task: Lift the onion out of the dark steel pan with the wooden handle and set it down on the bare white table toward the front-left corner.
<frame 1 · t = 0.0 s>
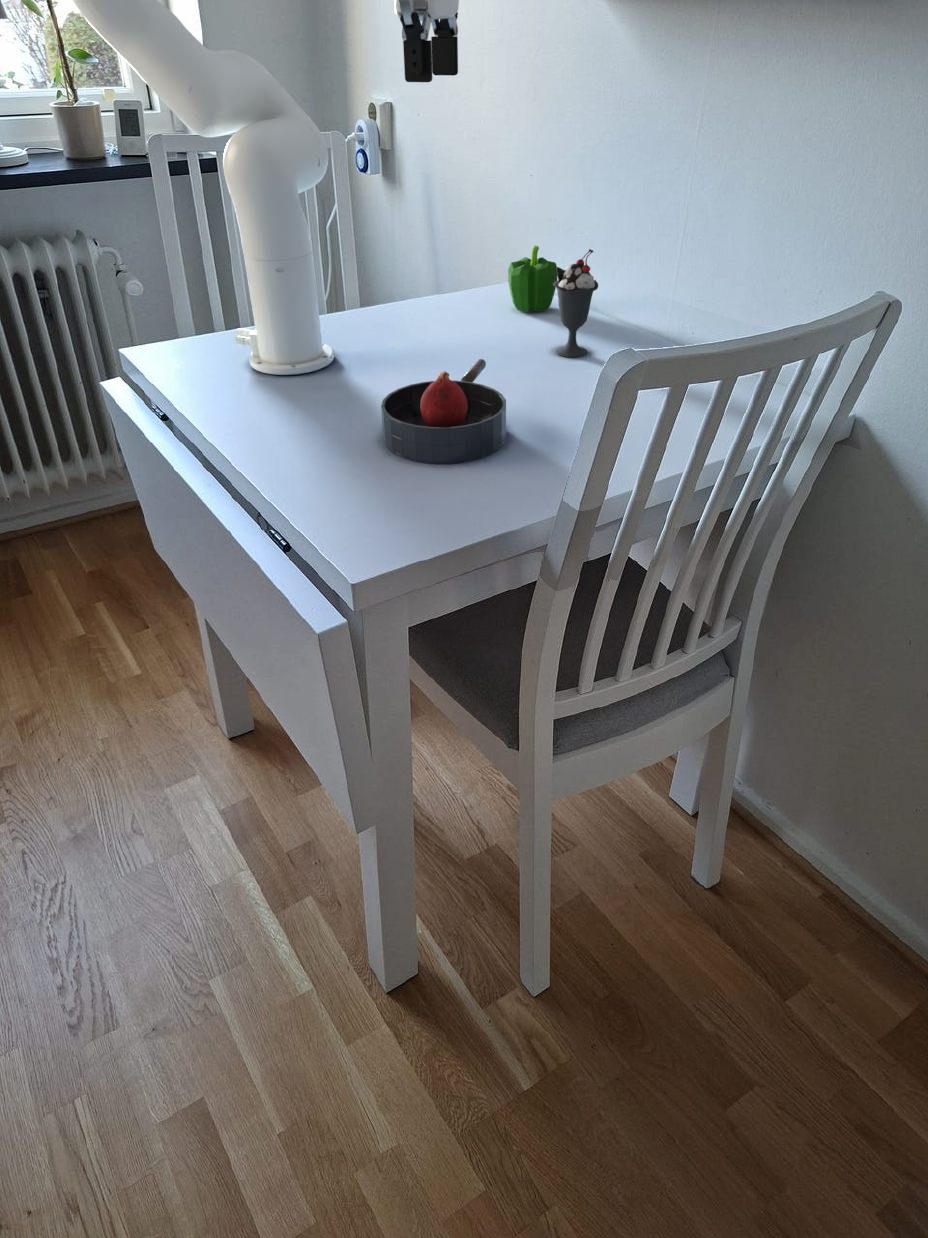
hand: (432, 78, 104), 37 cm above the table, tool pointing down, fingers open, 9 cm apart
onion: (444, 436, 108), resting on pan
sundae: (571, 353, 133), on the table
bell pepper: (532, 310, 151), on the table
pan: (444, 437, 108), on the table
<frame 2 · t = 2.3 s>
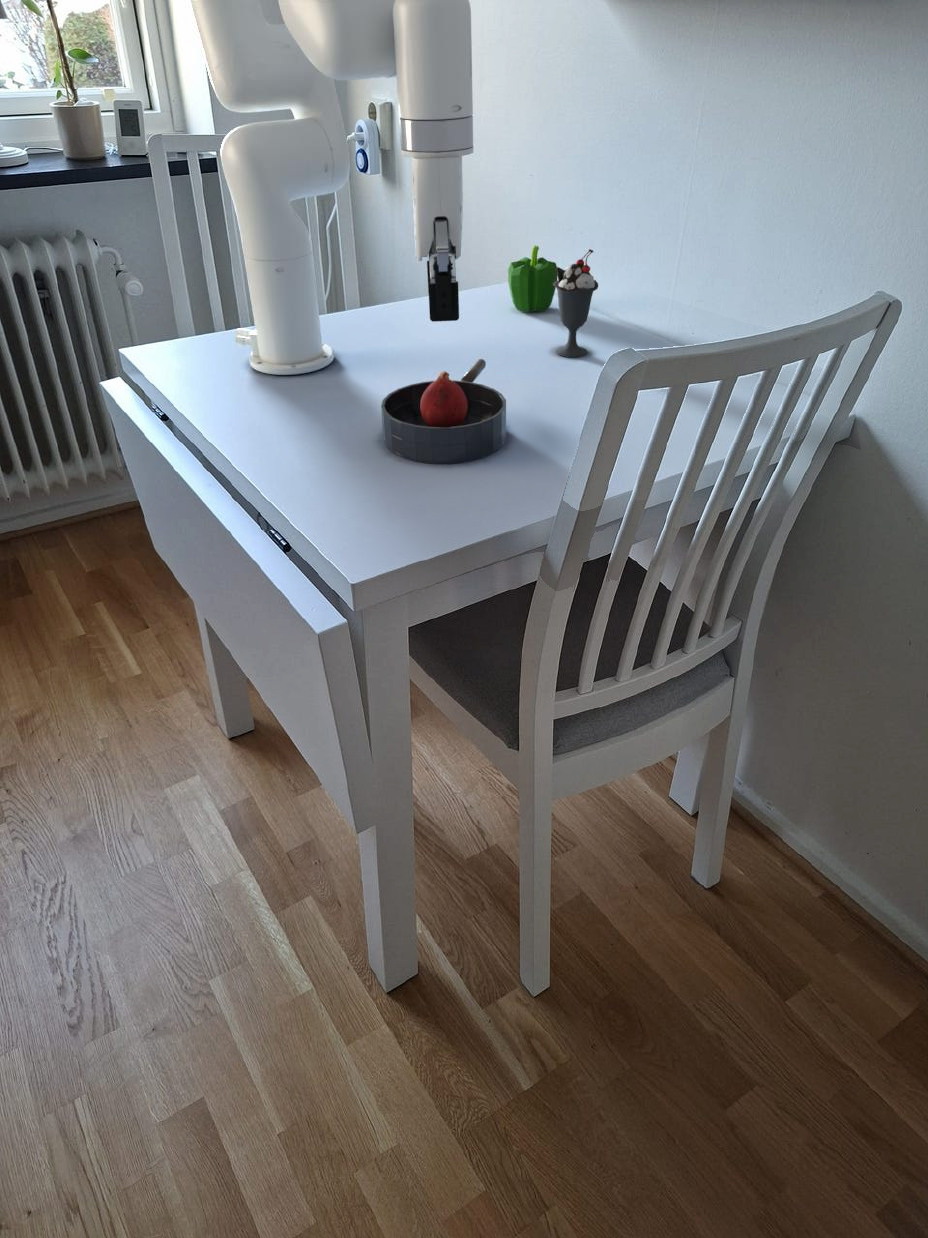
hand: (443, 307, 99), 16 cm above the table, tool pointing down, fingers open, 9 cm apart
nothing on the table moved.
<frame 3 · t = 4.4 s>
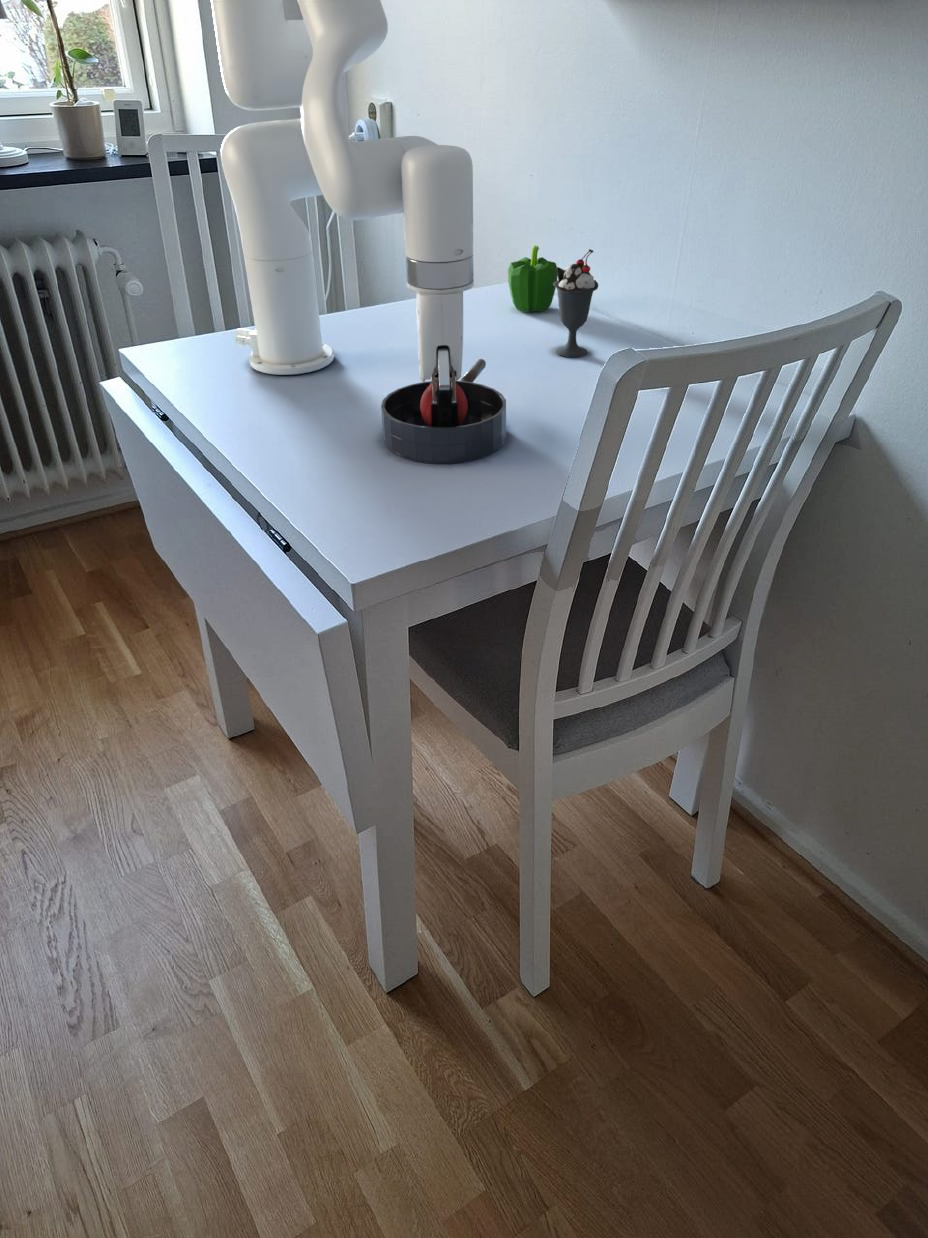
hand: (444, 422, 107), 2 cm above the table, tool pointing down, fingers closed on onion, 6 cm apart
onion: (444, 436, 108), resting on pan, touching gripper
everything else where it was.
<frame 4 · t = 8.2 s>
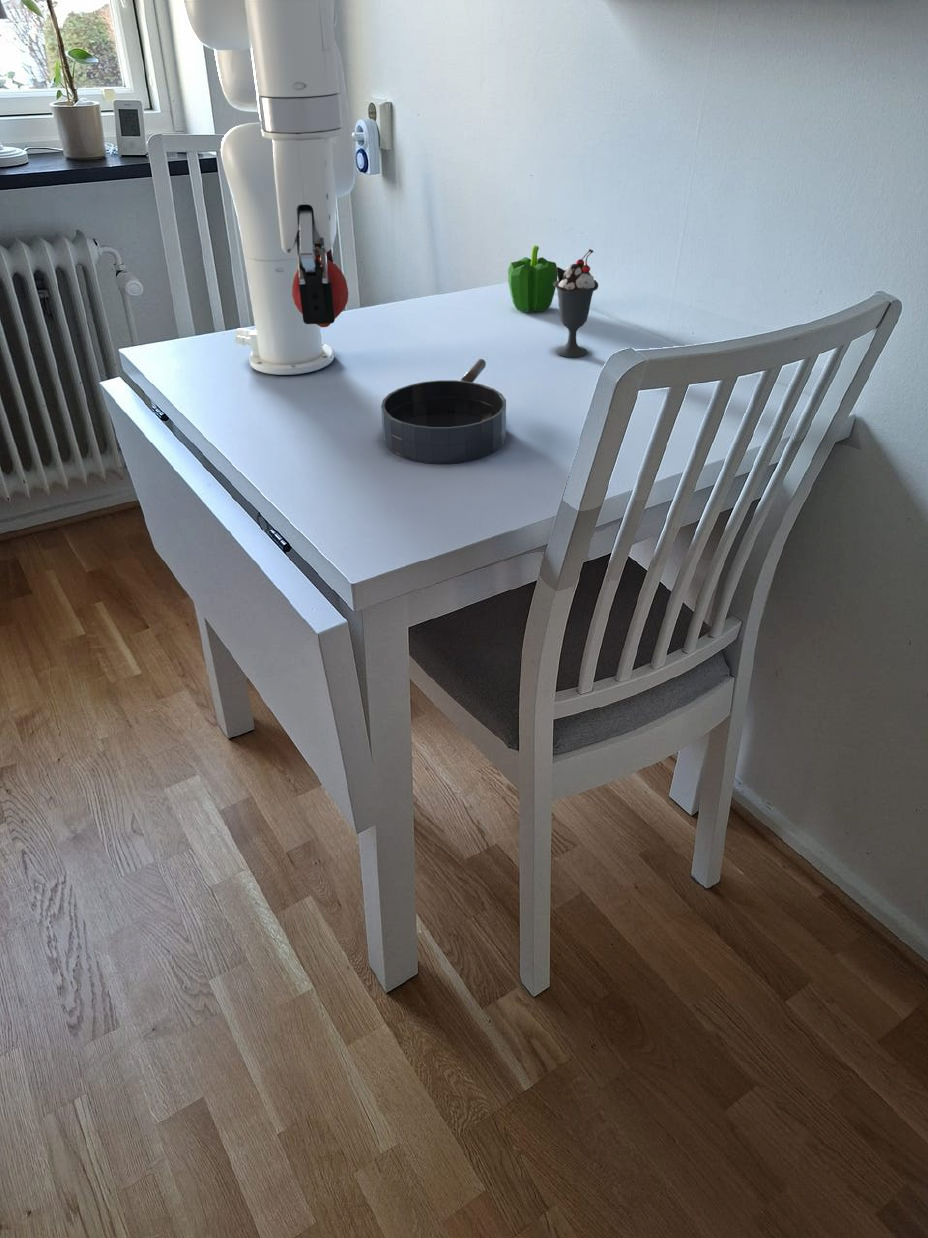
hand: (322, 311, 92), 18 cm above the table, tool pointing down, fingers closed on onion, 6 cm apart
onion: (324, 329, 93), point 16 cm above the table, touching gripper
everything else where it was.
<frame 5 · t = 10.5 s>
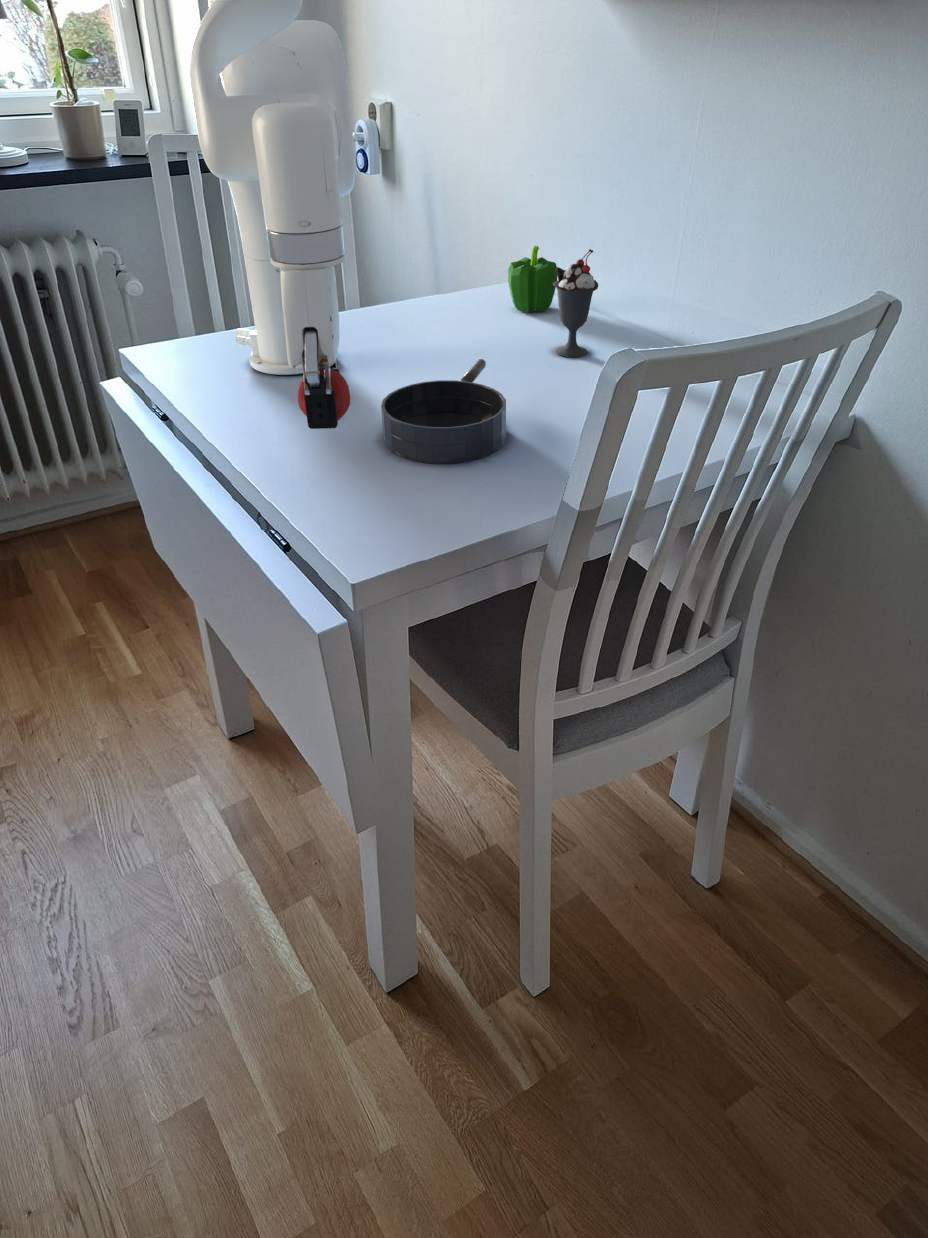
hand: (325, 413, 98), 7 cm above the table, tool pointing down, fingers closed on onion, 6 cm apart
onion: (327, 429, 99), point 5 cm above the table, touching gripper
everything else where it was.
when the fingers open (2 cm above the table, at t = 12.3 s): onion stays where it is, on the table.
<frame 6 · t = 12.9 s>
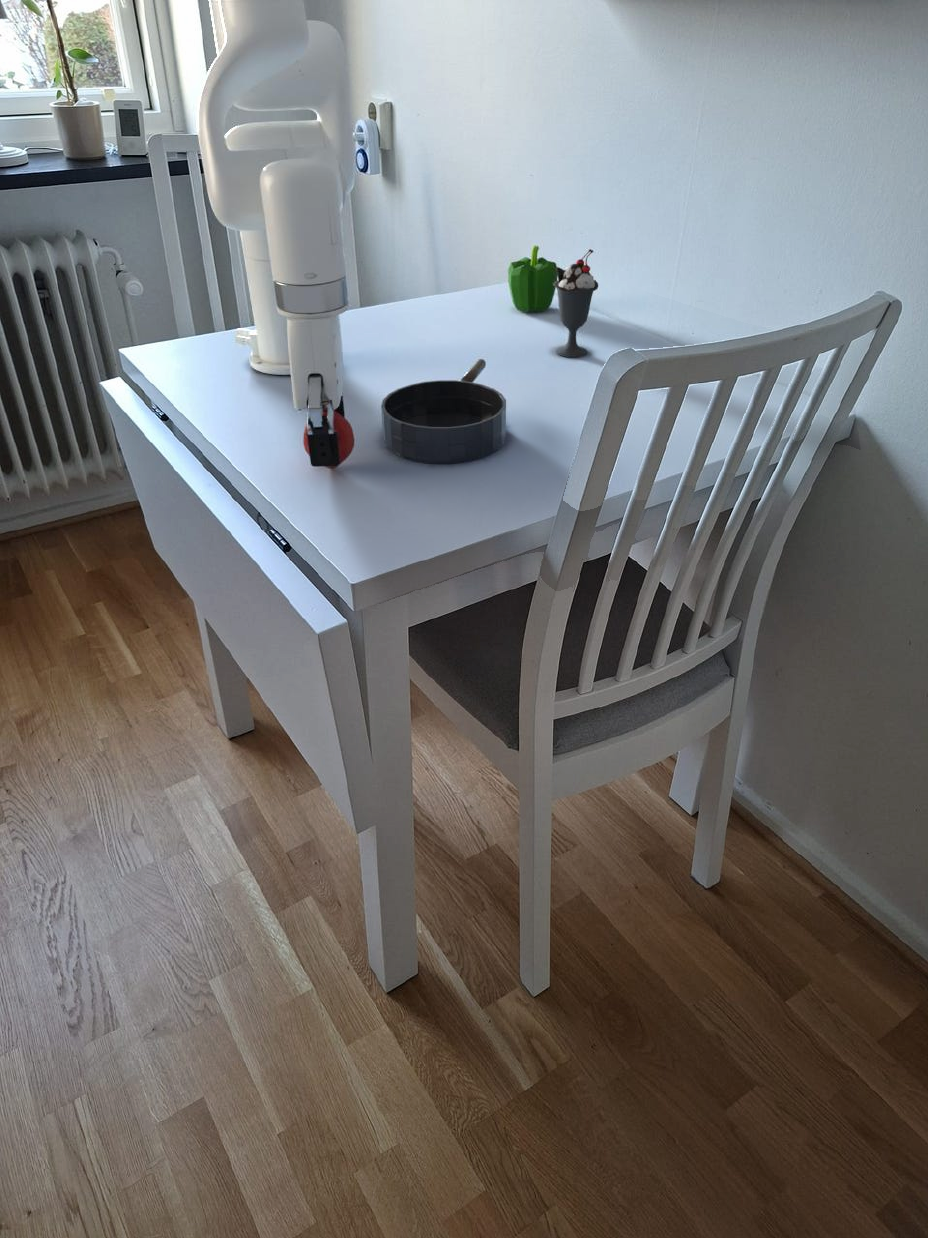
hand: (329, 446, 100), 3 cm above the table, tool pointing down, fingers open, 9 cm apart
onion: (332, 470, 102), on the table
everything else where it was.
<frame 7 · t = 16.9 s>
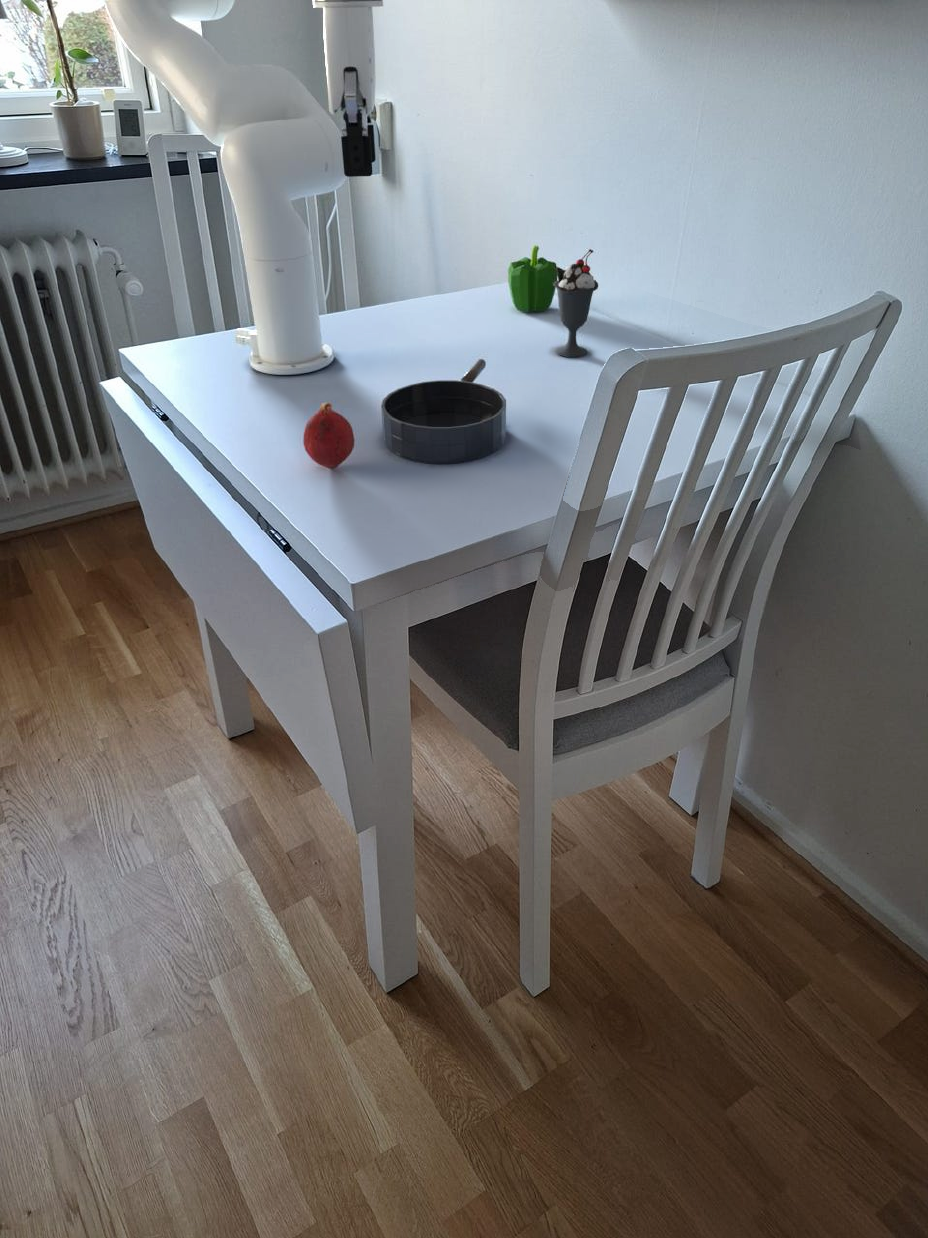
hand: (360, 168, 103), 28 cm above the table, tool pointing down, fingers open, 9 cm apart
nothing on the table moved.
at the end: onion inside the target area (0.0 cm from its centre), on the table; onion touching table; the gripper is holding nothing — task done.
